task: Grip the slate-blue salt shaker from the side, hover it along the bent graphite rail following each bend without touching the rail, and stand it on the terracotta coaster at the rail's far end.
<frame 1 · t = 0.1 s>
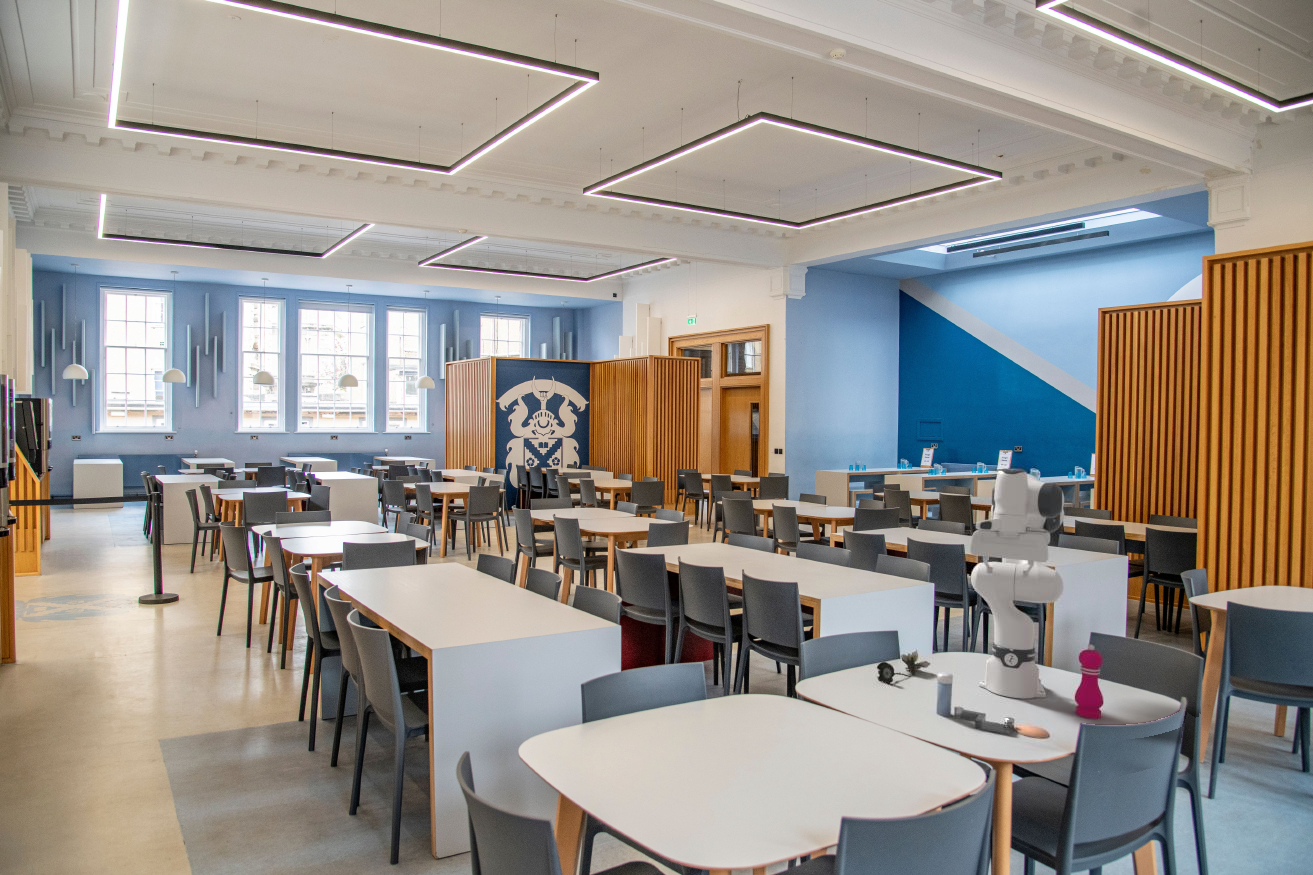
hand: (1007, 575, 229), 39 cm above the table, tool pointing down, fingers open, 8 cm apart
artificial flower: (901, 677, 262), on the table
shaker: (943, 713, 228), on the table
coaster: (1031, 731, 216), on the table
rail: (982, 724, 220), on the table
pepper mill: (1088, 715, 231), on the table
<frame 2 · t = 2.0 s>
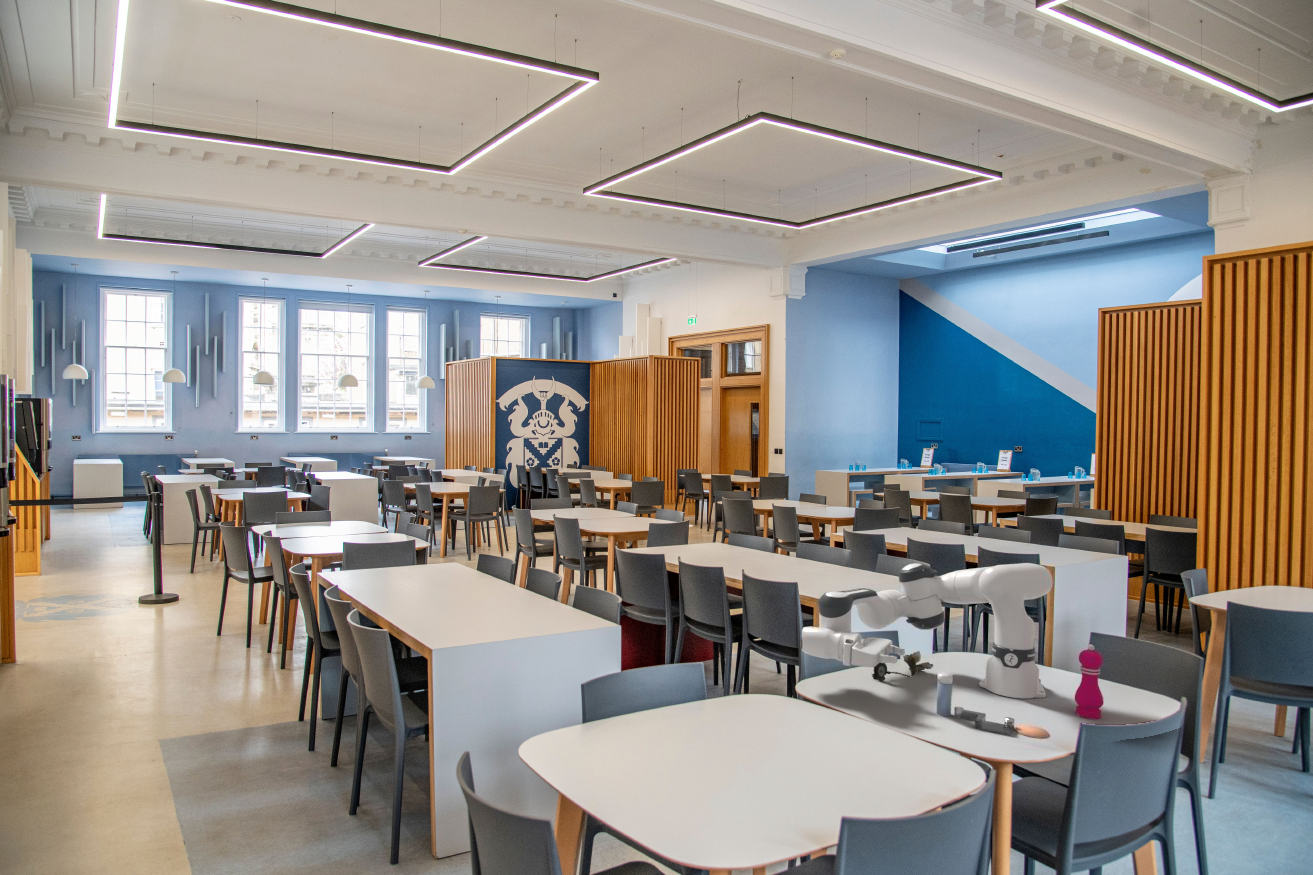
hand: (900, 656, 234), 14 cm above the table, tool horizontal, fingers open, 8 cm apart
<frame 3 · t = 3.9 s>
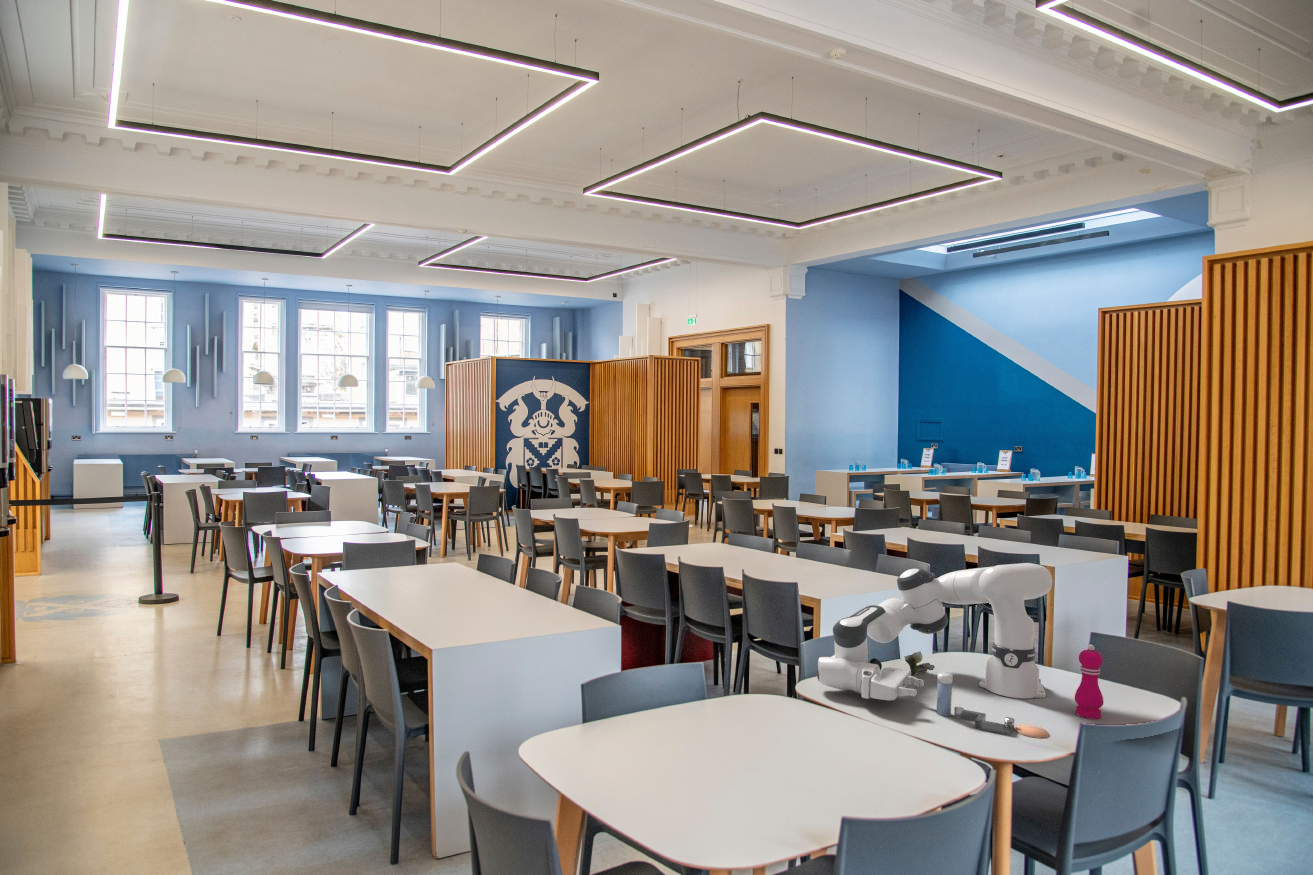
hand: (919, 688, 231), 6 cm above the table, tool horizontal, fingers open, 8 cm apart
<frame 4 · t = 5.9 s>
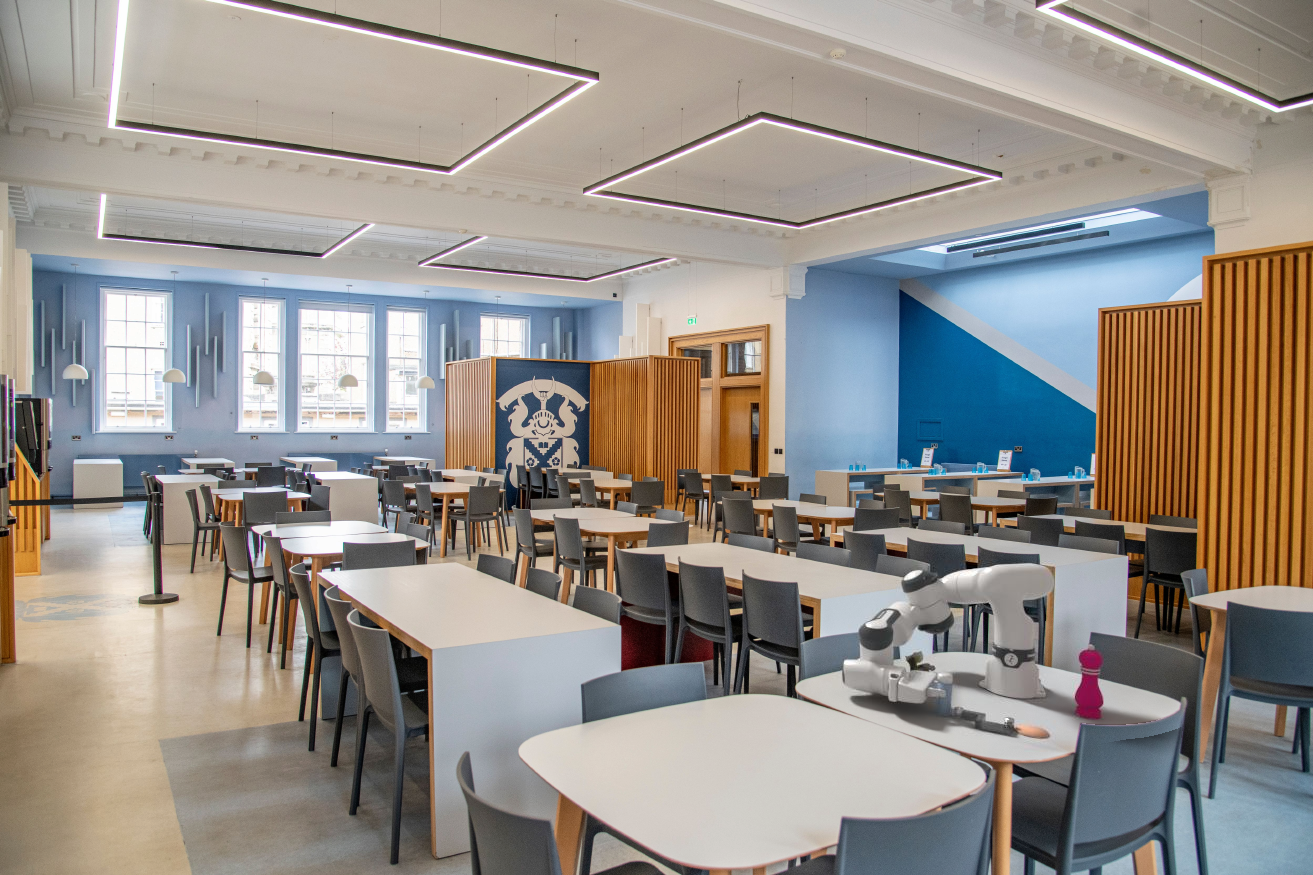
hand: (947, 690, 227), 7 cm above the table, tool horizontal, fingers closed on shaker, 4 cm apart
shaker: (943, 713, 228), on the table, touching gripper
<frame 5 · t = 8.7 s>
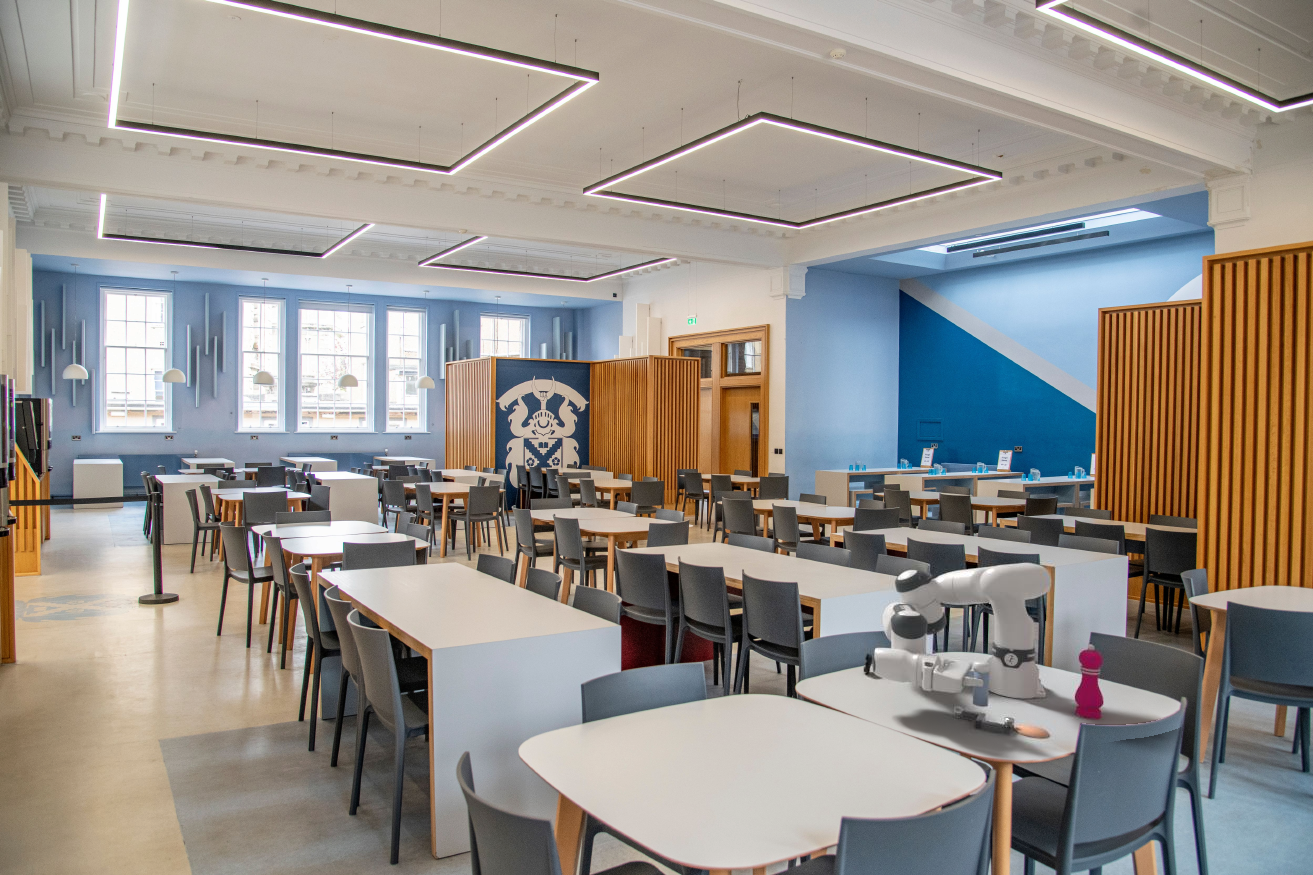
hand: (985, 680, 217), 13 cm above the table, tool horizontal, fingers closed on shaker, 4 cm apart
shaker: (980, 704, 218), point 6 cm above the table, touching gripper
when the fingers open (8 cm above the table, at t = 11.8 s): shaker drops 1 cm, resting on coaster.
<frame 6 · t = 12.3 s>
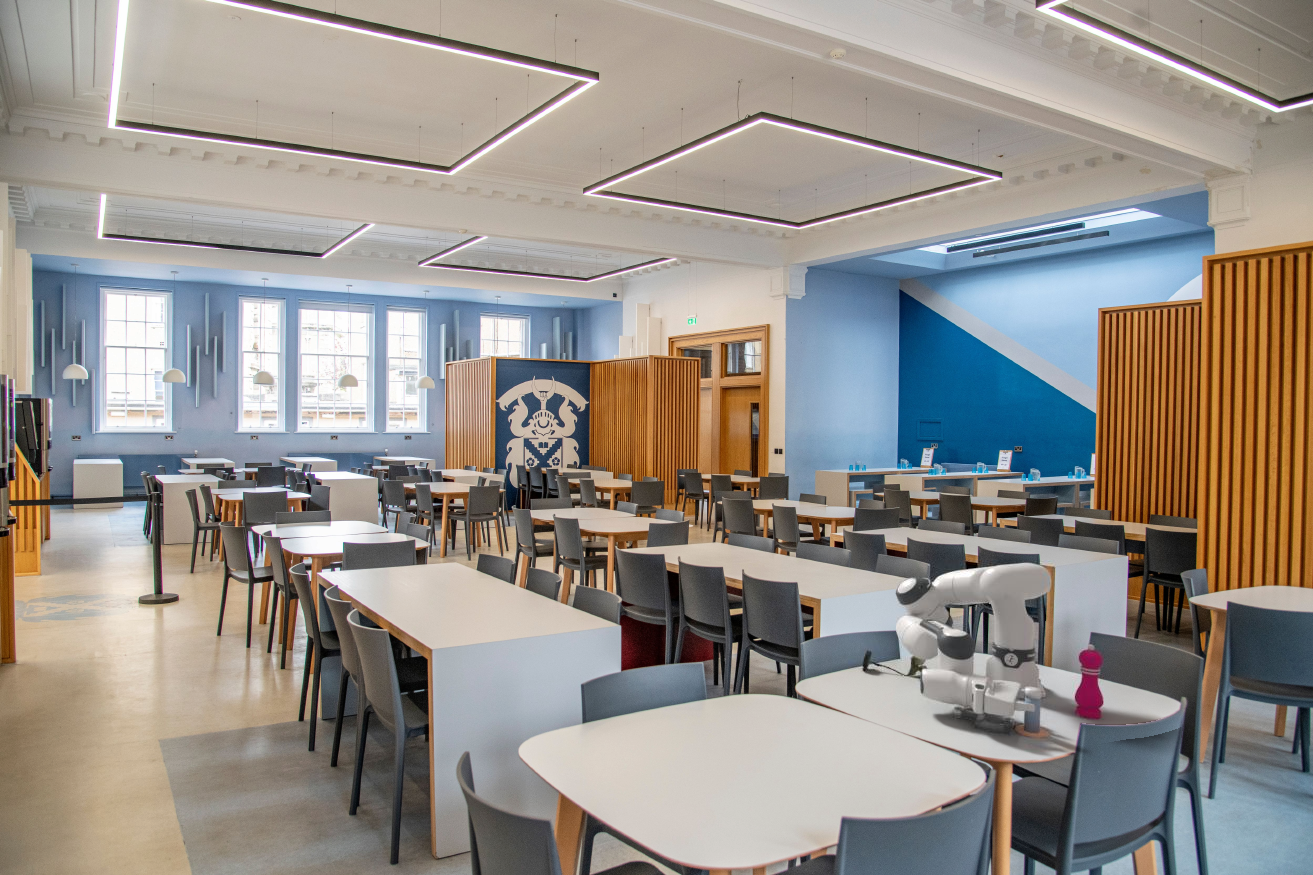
hand: (1036, 702, 215), 8 cm above the table, tool horizontal, fingers open, 8 cm apart
shaker: (1031, 730, 216), resting on coaster
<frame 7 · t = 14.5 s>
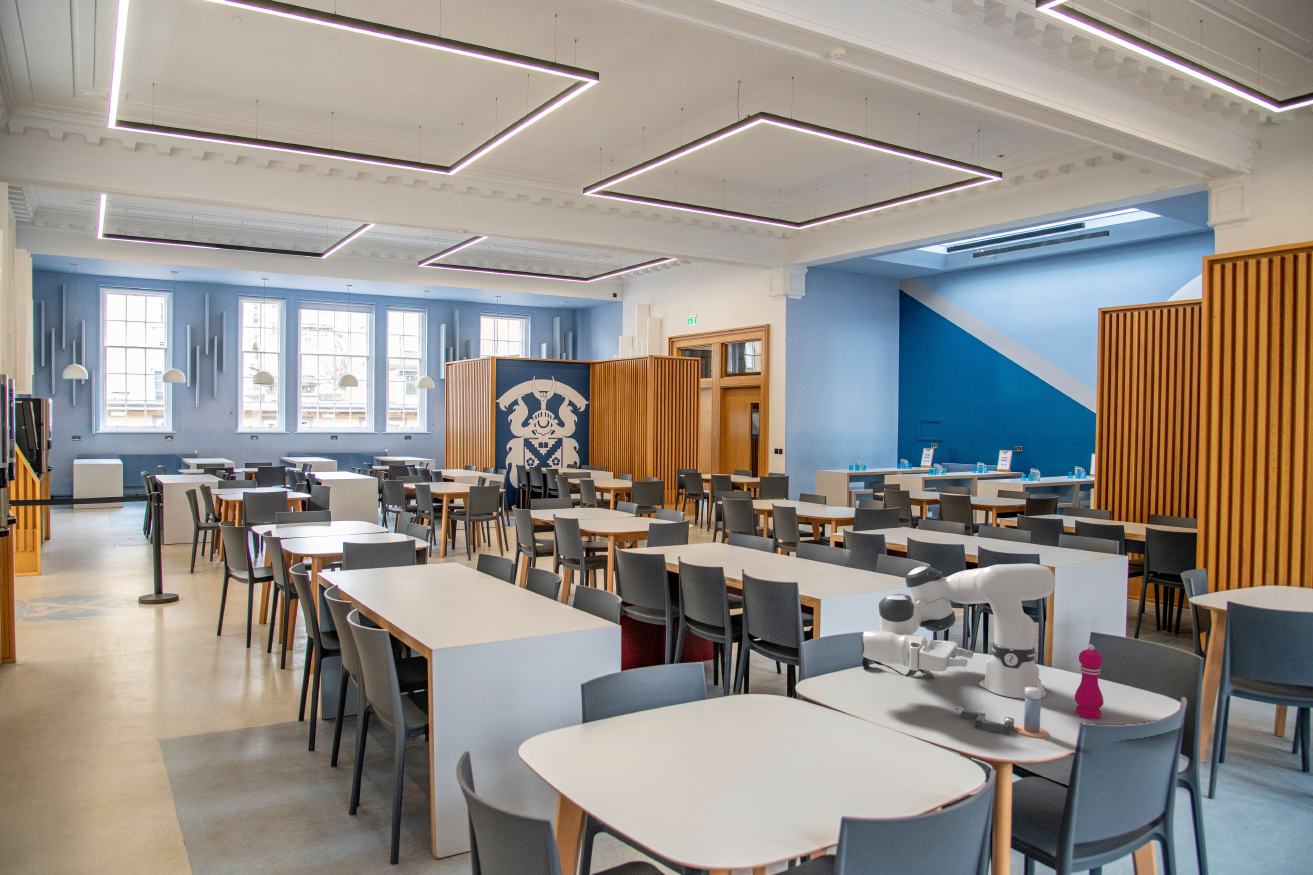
hand: (969, 658, 224), 17 cm above the table, tool horizontal, fingers open, 8 cm apart
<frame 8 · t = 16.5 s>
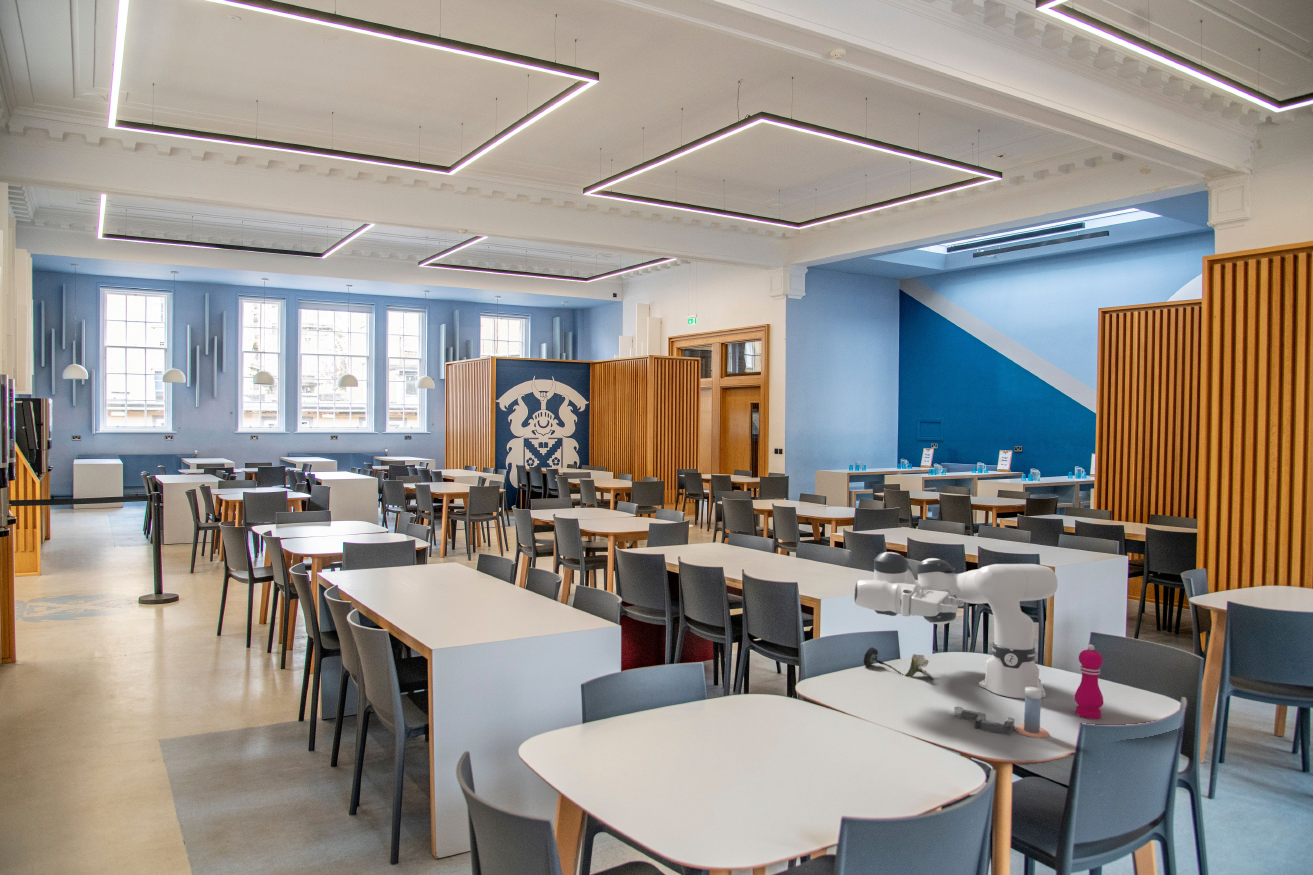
hand: (960, 606, 229), 30 cm above the table, tool horizontal, fingers open, 8 cm apart
at the end: shaker inside the target area (0.0 cm from its centre), resting on coaster; shaker tilted 0°; shaker touching coaster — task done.
